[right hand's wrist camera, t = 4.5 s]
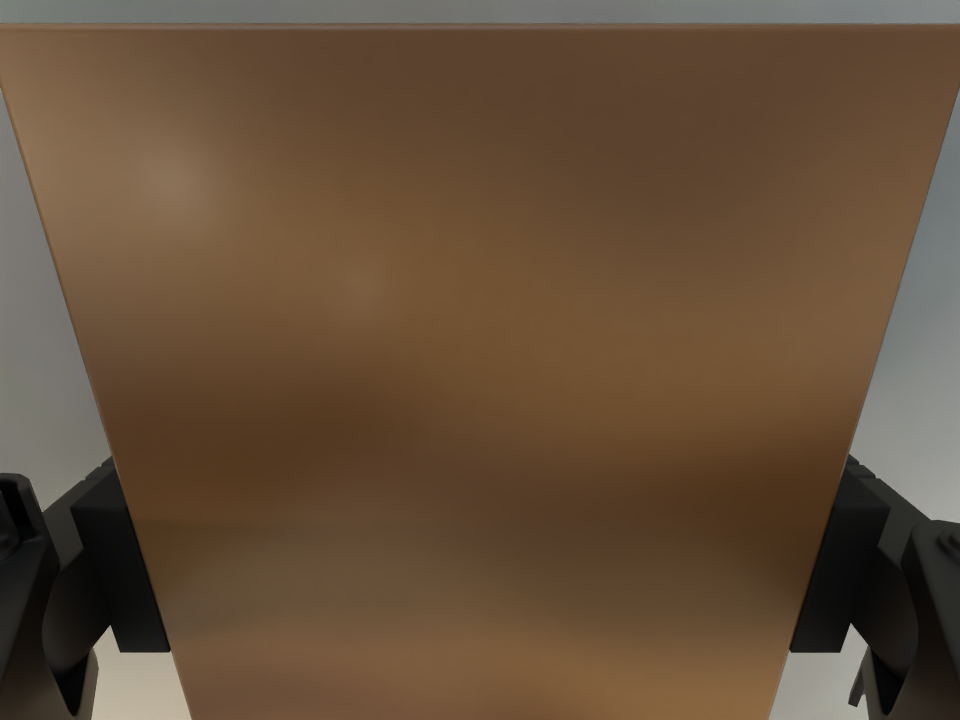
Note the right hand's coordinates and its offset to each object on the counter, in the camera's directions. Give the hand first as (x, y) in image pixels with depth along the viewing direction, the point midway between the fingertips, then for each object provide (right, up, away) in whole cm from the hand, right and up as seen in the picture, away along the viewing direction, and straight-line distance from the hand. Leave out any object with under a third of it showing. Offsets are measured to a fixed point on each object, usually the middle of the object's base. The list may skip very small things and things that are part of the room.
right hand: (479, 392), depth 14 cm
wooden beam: (0, -30, +12) cm, 32 cm away
